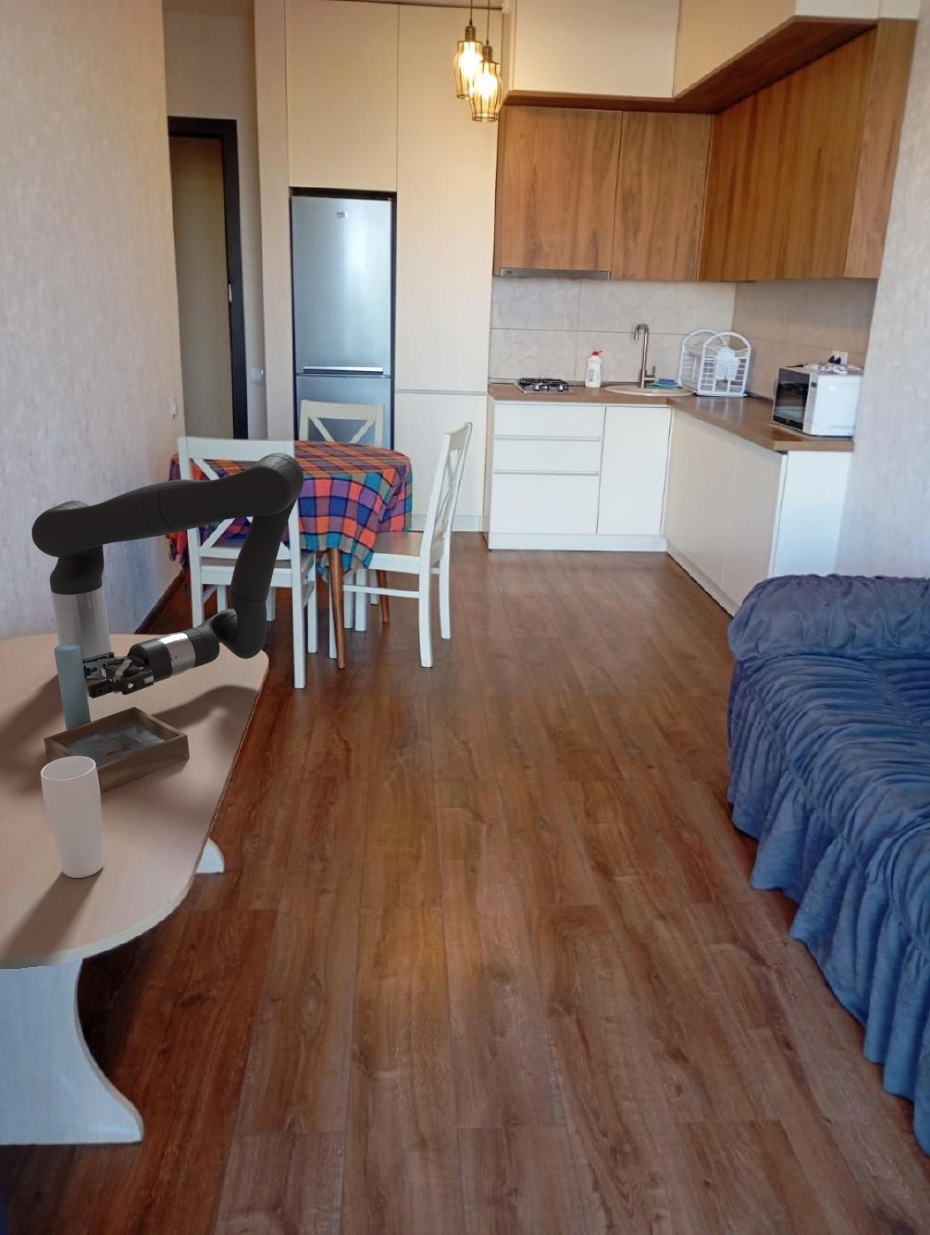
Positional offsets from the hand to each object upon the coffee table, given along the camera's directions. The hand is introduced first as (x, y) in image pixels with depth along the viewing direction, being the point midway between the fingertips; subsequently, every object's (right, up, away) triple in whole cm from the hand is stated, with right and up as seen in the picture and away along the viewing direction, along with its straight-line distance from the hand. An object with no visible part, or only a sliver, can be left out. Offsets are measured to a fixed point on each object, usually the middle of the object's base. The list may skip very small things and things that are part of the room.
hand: (76, 685), depth 166 cm
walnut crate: (+9, -12, -5) cm, 15 cm away
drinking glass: (+14, -22, -34) cm, 43 cm away
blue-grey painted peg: (0, -9, +3) cm, 9 cm away
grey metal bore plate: (+9, -12, -5) cm, 15 cm away
